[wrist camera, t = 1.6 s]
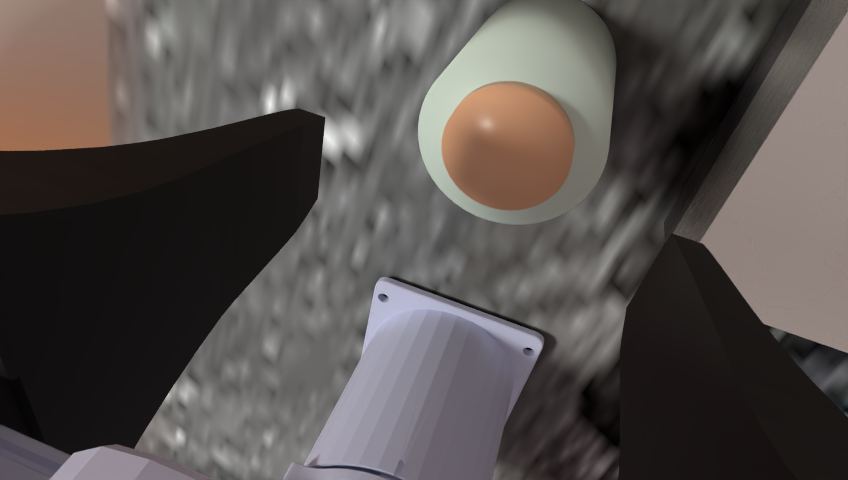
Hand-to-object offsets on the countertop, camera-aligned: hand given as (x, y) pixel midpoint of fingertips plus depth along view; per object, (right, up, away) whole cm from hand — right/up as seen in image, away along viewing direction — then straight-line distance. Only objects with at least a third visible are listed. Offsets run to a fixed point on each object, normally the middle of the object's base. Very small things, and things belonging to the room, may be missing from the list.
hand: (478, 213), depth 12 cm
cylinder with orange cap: (+3, +5, +7) cm, 9 cm away
